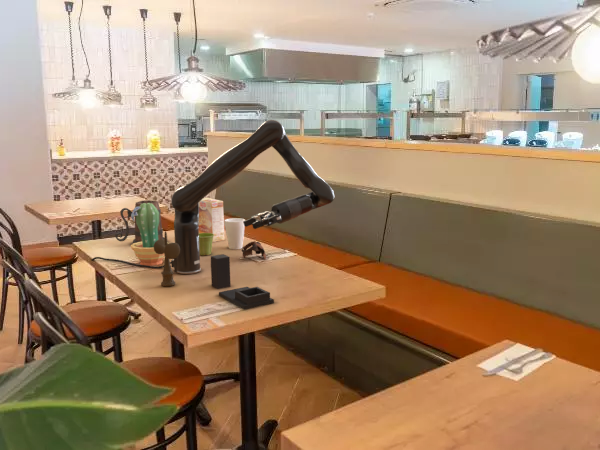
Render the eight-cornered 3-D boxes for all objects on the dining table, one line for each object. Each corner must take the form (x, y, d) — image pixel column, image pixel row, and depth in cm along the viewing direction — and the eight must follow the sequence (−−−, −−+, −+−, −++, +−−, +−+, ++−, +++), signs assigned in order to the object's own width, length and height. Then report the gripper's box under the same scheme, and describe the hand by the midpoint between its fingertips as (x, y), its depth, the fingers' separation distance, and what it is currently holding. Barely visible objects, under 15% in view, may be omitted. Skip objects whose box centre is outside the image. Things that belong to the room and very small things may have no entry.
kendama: (166, 290, 201) (164, 234, 198) (154, 284, 208) (151, 230, 204) (182, 286, 205) (179, 232, 202) (169, 281, 212) (166, 228, 209)
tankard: (162, 237, 285) (160, 198, 281) (171, 244, 271) (169, 202, 267) (113, 243, 274) (110, 201, 270) (119, 250, 259) (116, 206, 256)
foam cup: (226, 245, 270) (225, 218, 267) (246, 245, 270) (245, 218, 268) (224, 250, 260) (223, 222, 258) (244, 249, 261) (244, 221, 259)
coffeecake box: (196, 237, 287) (194, 198, 284) (209, 235, 292) (207, 197, 288) (212, 242, 277) (210, 202, 273) (225, 240, 281) (223, 200, 278)
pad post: (211, 285, 207) (210, 256, 205) (224, 283, 210) (223, 254, 208) (217, 289, 203) (216, 258, 201) (230, 286, 206) (229, 256, 204)
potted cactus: (144, 257, 247) (140, 199, 242) (177, 259, 244) (174, 201, 239) (124, 266, 232) (120, 205, 227) (159, 268, 229) (155, 207, 224)
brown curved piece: (266, 262, 242) (255, 246, 239) (247, 270, 244) (236, 255, 241) (270, 248, 253) (261, 233, 250) (252, 256, 255) (242, 242, 252)
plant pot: (188, 255, 251) (187, 236, 249) (201, 250, 259) (200, 232, 257) (206, 257, 247) (206, 237, 245) (219, 252, 256) (218, 233, 254)
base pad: (218, 295, 196) (218, 285, 195) (247, 289, 202) (247, 279, 202) (244, 309, 182) (243, 298, 181) (274, 302, 188) (273, 292, 188)
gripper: (275, 200, 222) (238, 214, 215) (292, 202, 210) (253, 217, 203) (281, 218, 224) (244, 232, 217) (298, 221, 212) (259, 237, 204)
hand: (248, 225), depth 210 cm, fingers open, 8 cm apart
